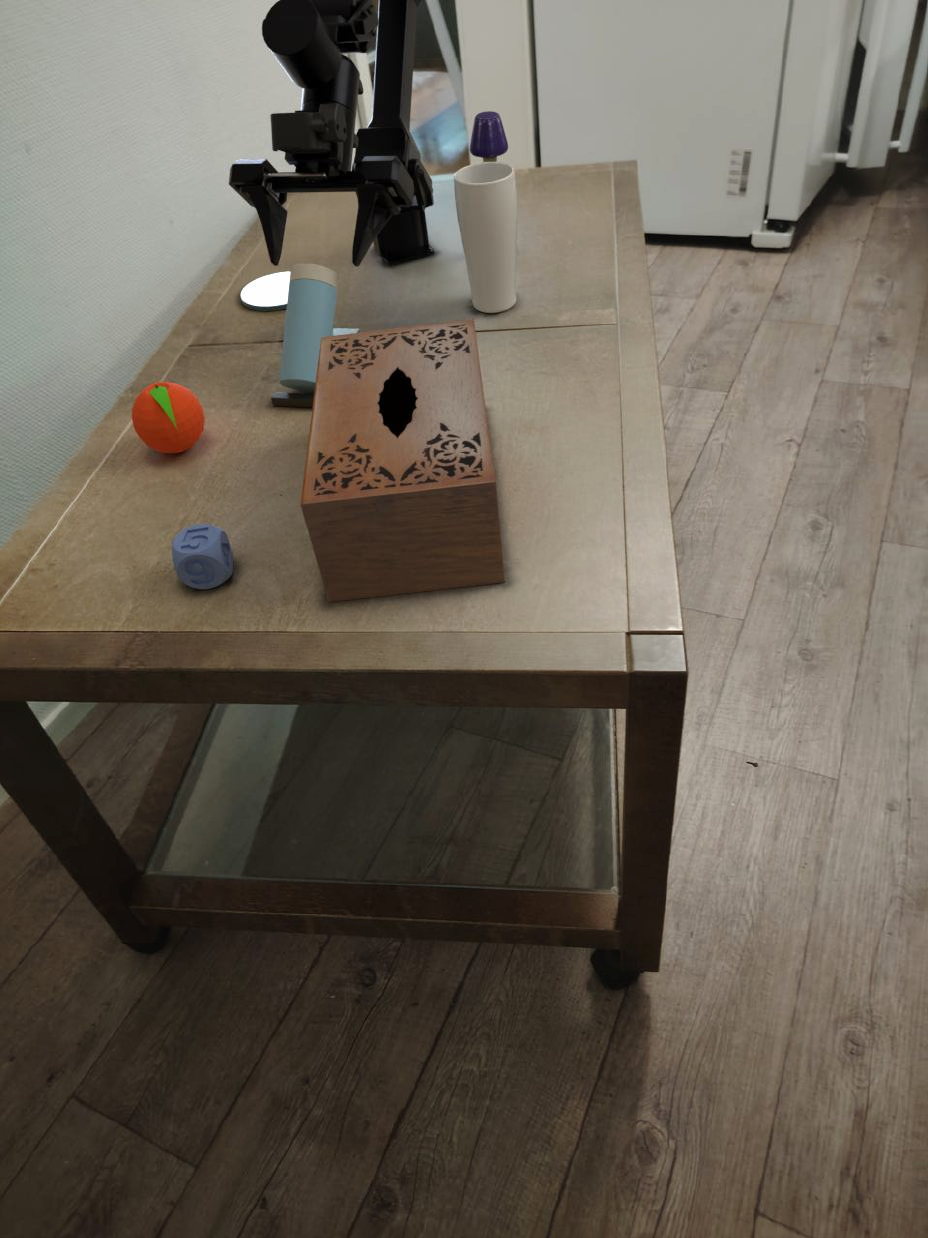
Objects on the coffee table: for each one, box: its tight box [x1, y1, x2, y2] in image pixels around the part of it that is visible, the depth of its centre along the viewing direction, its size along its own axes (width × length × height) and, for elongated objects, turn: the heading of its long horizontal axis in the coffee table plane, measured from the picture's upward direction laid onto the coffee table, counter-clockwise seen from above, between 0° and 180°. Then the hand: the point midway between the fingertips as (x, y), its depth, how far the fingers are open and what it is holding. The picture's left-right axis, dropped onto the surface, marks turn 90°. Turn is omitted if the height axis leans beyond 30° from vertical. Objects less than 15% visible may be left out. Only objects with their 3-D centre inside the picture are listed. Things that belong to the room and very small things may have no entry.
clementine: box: [131, 381, 206, 454], centre depth 89 cm, size 8×7×7 cm
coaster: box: [239, 271, 290, 312], centre depth 115 cm, size 10×10×1 cm
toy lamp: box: [469, 110, 509, 163], centre depth 111 cm, size 5×5×17 cm
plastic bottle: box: [278, 263, 339, 393], centre depth 94 cm, size 12×5×12 cm, turn 166°
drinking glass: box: [453, 161, 518, 314], centre depth 102 cm, size 7×7×15 cm
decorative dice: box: [171, 523, 234, 590], centre depth 75 cm, size 4×4×4 cm
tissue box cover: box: [300, 318, 506, 603], centre depth 78 cm, size 26×14×10 cm, turn 3°
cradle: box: [270, 327, 361, 409], centre depth 97 cm, size 11×7×4 cm, turn 166°
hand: (314, 264), depth 94 cm, fingers open, 9 cm apart
